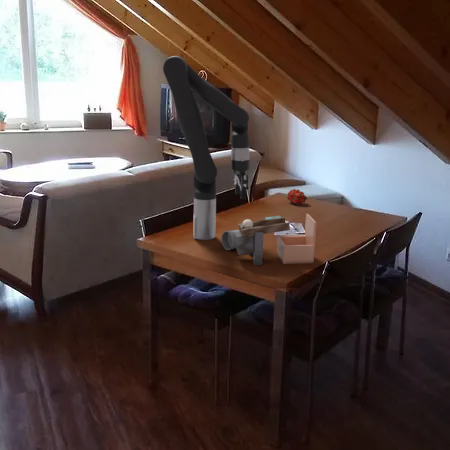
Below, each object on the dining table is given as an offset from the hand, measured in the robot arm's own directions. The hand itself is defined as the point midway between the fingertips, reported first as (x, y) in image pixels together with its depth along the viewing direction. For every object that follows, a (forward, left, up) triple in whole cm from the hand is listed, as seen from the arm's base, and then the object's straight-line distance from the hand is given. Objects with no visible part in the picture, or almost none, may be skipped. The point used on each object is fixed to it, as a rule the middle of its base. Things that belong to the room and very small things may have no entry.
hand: (240, 196), depth 230 cm
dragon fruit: (+39, +57, -18) cm, 72 cm away
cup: (+18, -26, -18) cm, 36 cm away
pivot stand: (+2, -26, -18) cm, 32 cm away
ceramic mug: (-5, -12, -18) cm, 22 cm away
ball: (-1, -26, -4) cm, 26 cm away
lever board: (+5, -22, -14) cm, 27 cm away
